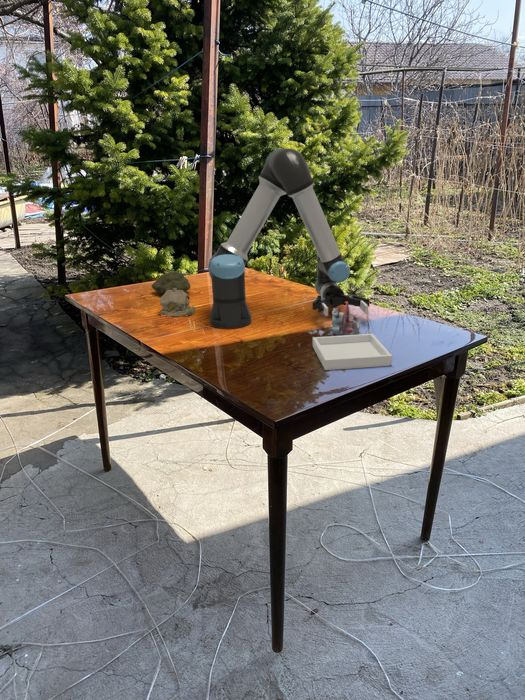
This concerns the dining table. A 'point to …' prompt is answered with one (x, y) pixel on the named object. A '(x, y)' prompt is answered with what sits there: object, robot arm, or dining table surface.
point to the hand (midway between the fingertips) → (347, 310)
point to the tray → (351, 352)
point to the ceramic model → (176, 303)
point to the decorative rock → (171, 282)
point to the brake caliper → (344, 323)
